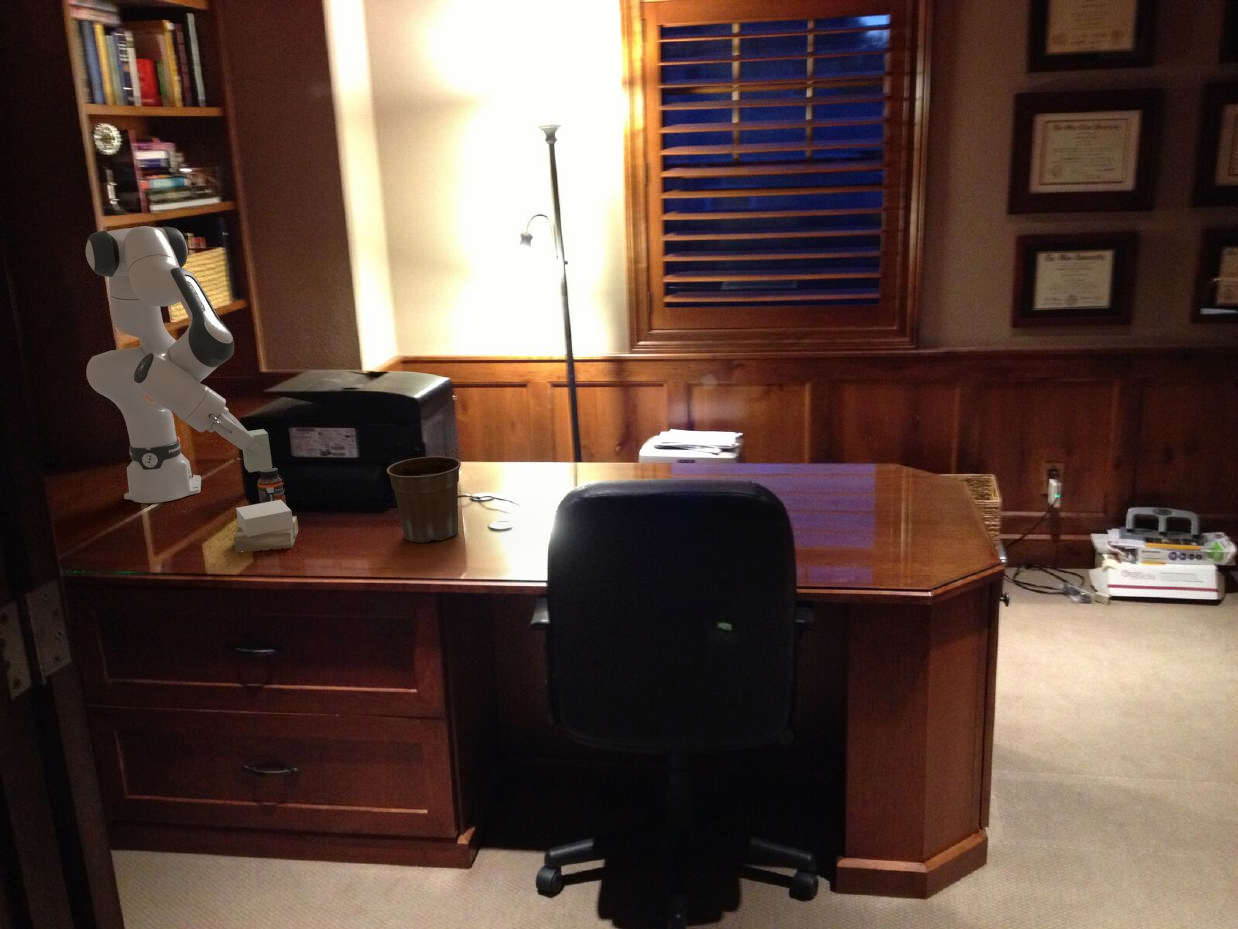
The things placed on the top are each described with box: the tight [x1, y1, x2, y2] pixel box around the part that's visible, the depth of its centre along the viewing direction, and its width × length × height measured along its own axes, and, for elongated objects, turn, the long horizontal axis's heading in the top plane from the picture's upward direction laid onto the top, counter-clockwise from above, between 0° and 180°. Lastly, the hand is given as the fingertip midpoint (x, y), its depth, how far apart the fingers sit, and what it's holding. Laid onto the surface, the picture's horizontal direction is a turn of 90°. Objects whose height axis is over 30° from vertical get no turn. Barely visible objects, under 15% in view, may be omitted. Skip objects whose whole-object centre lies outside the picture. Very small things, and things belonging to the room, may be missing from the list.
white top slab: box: [235, 500, 294, 537], centre depth 248 cm, size 10×10×4 cm
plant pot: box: [386, 455, 462, 544], centre depth 247 cm, size 16×16×16 cm
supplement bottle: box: [257, 467, 287, 505], centre depth 267 cm, size 6×6×11 cm
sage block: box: [242, 428, 273, 473], centre depth 244 cm, size 5×5×8 cm
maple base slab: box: [233, 515, 299, 553], centre depth 249 cm, size 12×12×4 cm
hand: (259, 448), depth 244 cm, fingers closed on sage block, 5 cm apart
